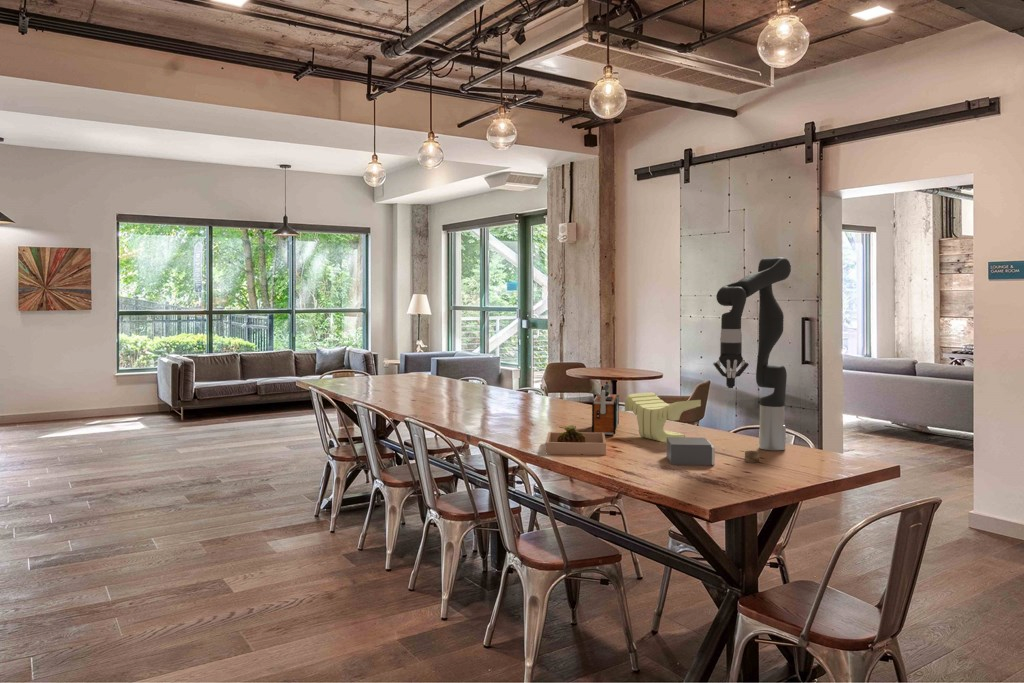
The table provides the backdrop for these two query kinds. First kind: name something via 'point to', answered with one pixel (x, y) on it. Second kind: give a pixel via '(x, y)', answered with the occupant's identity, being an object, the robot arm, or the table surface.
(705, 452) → the housing
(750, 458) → the pedestal
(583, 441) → the cactus
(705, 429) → the table surface
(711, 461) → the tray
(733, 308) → the robot arm
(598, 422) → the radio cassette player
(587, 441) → the planter frame
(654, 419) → the slatted curved stool
